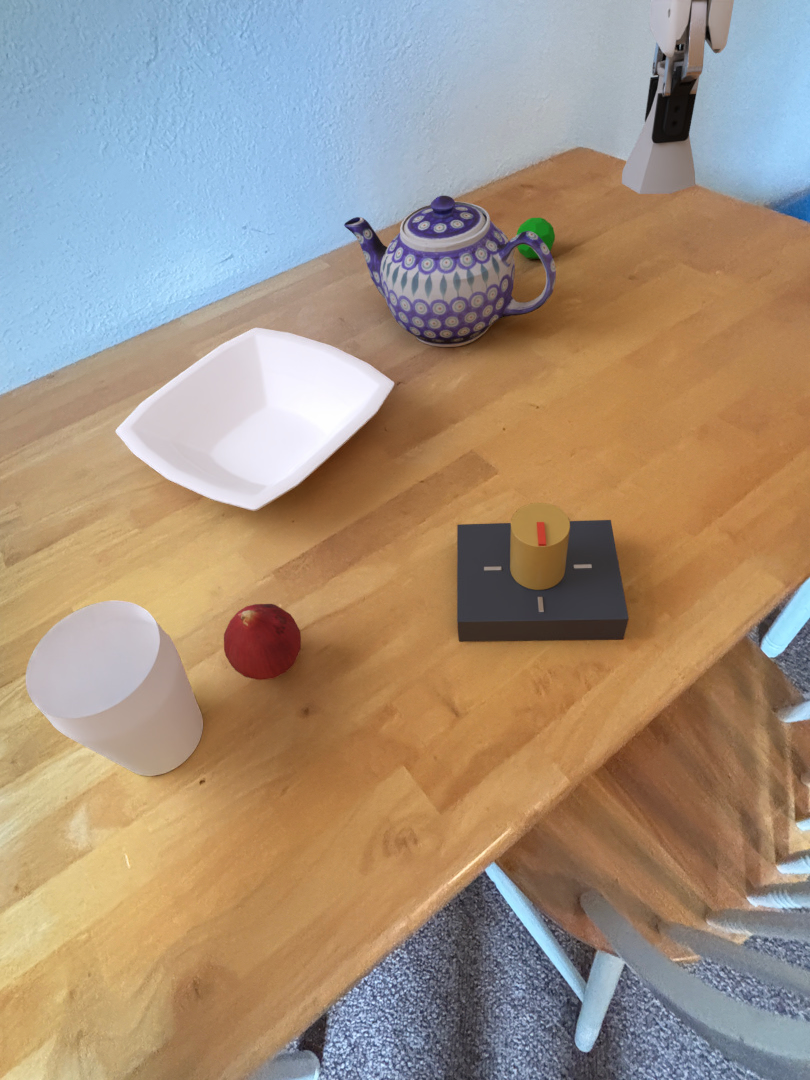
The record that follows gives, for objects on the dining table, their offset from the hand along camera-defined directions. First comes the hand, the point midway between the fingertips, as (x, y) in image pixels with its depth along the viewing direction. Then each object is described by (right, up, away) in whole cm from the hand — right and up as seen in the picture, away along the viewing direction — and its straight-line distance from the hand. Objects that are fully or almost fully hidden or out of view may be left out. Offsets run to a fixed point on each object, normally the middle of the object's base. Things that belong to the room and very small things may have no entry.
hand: (665, 130), depth 66 cm
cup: (-43, -54, -12) cm, 70 cm away
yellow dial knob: (-14, -41, -9) cm, 44 cm away
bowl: (-39, -29, +8) cm, 49 cm away
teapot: (-19, -12, +20) cm, 30 cm away
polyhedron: (-7, -1, +27) cm, 28 cm away
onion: (-35, -49, -9) cm, 61 cm away
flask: (0, -3, +4) cm, 5 cm away
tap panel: (-13, -43, -7) cm, 45 cm away
